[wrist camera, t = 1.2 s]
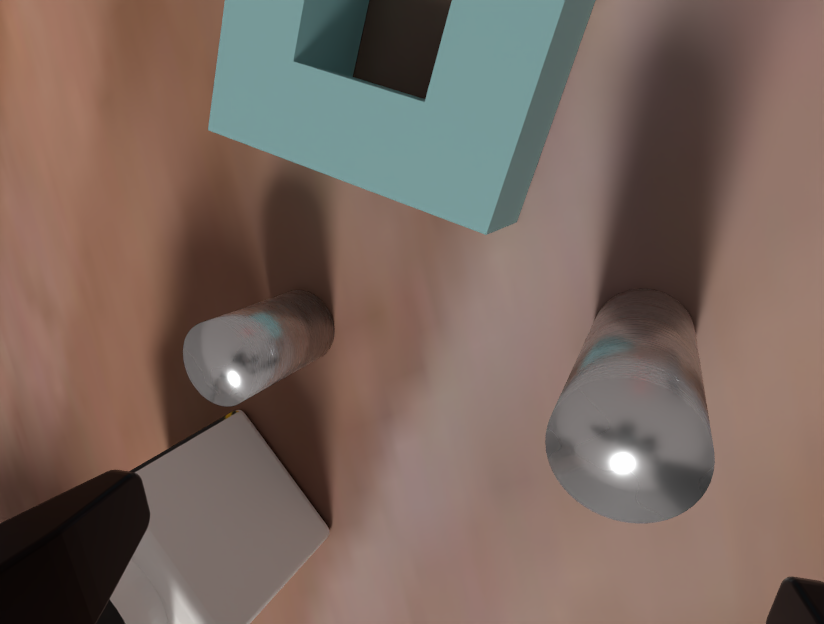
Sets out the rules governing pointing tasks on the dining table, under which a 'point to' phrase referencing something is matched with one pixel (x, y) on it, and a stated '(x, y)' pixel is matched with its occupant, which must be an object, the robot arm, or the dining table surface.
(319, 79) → the socket block
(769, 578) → the dining table surface
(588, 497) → the pin medium
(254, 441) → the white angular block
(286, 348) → the pin short
